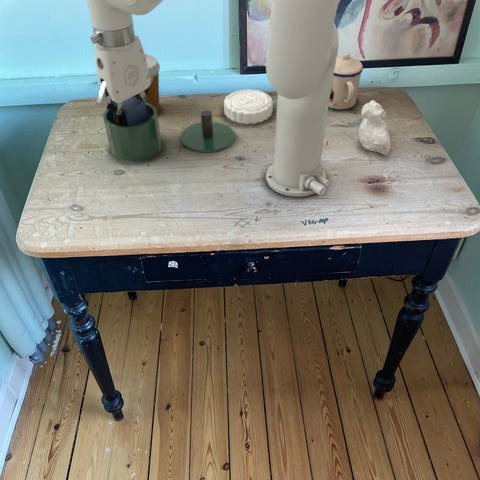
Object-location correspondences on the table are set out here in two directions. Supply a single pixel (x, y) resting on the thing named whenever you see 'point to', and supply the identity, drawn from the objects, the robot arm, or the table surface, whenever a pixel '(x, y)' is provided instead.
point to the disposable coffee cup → (154, 87)
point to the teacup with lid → (345, 82)
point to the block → (134, 111)
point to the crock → (134, 137)
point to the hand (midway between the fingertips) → (131, 123)
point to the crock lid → (207, 135)
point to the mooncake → (248, 106)
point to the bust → (374, 129)
